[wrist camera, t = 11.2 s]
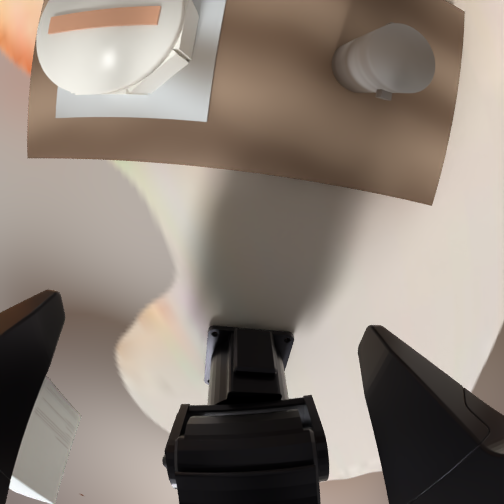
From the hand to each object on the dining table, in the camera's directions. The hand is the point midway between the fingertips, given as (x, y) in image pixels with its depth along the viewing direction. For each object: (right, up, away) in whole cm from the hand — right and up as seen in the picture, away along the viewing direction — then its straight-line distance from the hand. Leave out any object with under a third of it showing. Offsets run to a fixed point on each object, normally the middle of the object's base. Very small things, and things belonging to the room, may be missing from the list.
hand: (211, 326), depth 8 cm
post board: (+1, +13, +7) cm, 15 cm away
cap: (-5, +13, +5) cm, 15 cm away
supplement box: (-23, -15, +20) cm, 34 cm away
